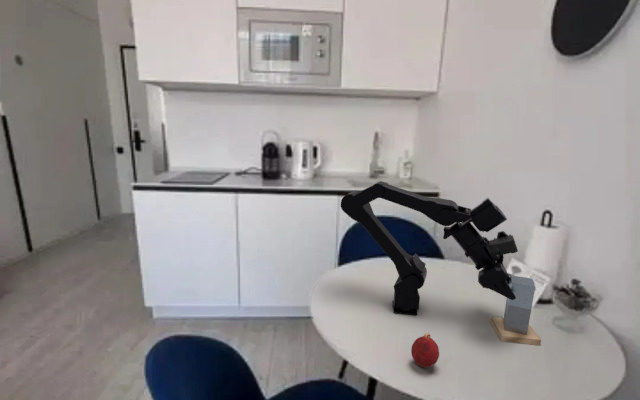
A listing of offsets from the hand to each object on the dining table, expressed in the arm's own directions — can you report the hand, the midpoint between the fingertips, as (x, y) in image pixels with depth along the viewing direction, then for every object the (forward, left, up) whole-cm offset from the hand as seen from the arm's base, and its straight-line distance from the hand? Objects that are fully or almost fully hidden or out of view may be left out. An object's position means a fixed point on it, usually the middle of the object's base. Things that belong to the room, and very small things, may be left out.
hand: (512, 291), depth 93 cm
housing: (+2, 0, -10) cm, 10 cm away
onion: (-23, -18, -11) cm, 32 cm away
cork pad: (+2, 0, -11) cm, 11 cm away
